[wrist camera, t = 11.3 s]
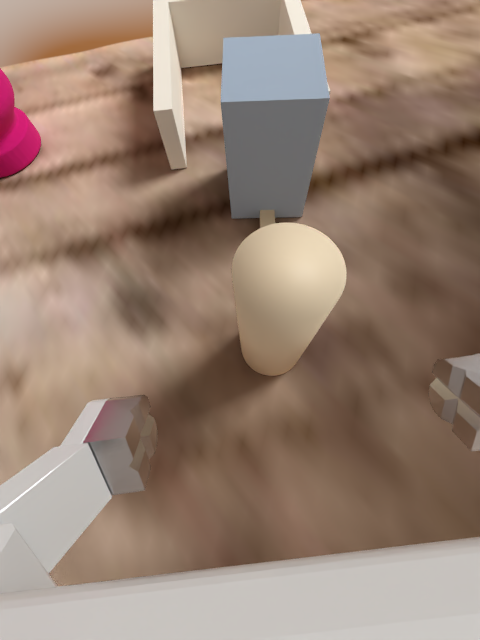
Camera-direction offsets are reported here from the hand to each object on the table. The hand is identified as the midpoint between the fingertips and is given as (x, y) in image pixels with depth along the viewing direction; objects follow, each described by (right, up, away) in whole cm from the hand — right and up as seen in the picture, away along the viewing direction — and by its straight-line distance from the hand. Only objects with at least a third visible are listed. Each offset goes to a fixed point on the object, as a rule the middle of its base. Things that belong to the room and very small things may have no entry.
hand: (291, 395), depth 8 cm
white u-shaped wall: (-2, +21, +17) cm, 27 cm away
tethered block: (0, +7, +11) cm, 13 cm away
